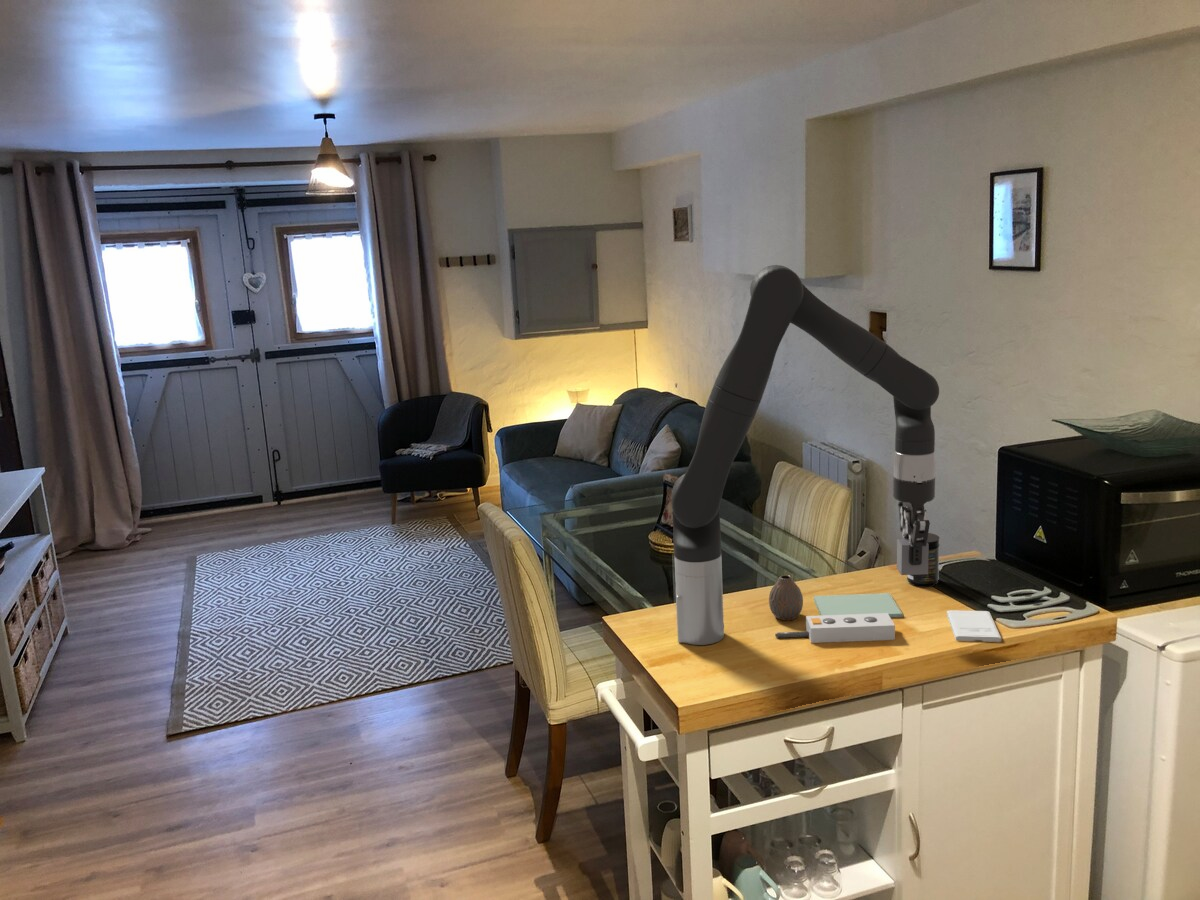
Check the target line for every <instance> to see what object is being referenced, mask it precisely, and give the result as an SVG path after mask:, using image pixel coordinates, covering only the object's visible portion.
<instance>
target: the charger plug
mask: <svg viewBox="0 0 1200 900" xmlns="http://www.w3.org/2000/svg"><path fill="white" fill-rule="evenodd" d="M917 540H920V539H919V538H917ZM928 553H929V544H928V543H927V544H926V546H922V563H921V565H911V564H910V563H909V539H905V538H900V539H899V538H897V539H896V570H897V571H898V573H899V574H900V575H901V576H907V575H921V574H928Z"/></svg>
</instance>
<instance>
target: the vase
mask: <svg viewBox="0 0 1200 900" xmlns="http://www.w3.org/2000/svg"><path fill="white" fill-rule="evenodd" d="M768 605H769V609H770V611H771V613H772V615H773V616H774V617H775V618H776V619H778V620H781V621H792V620H795V619H796V618H797V617H799V615H800V614H801V612H802V610H803V607H804V597H803V593H802V590H801V589H800V587H799V586H798V584H796V582H795V581H794V579H793V576H791V575H788V574H782V575H780V576H779V577H778V579H777V581H776V582H775V583H774V585H773V586H772V587H771V589H770V591H769V596H768Z"/></svg>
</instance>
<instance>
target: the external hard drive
mask: <svg viewBox="0 0 1200 900" xmlns="http://www.w3.org/2000/svg"><path fill="white" fill-rule="evenodd" d="M990 612H991V611H987V610H957V609H956V610H954V609H950V610H947V611H946V616H947V619H948V622H949V625H950V628H951V631H952V633H953V636H954V640H955V641H956V642H976V641H977V642H991V643H993V642H995V643H1001V642H1002V636H1001V635H1000V633H999V632H1000V631H999V630H998V628H997V626H996V623H995V621H994V619H993V617H992V614H991V613H990Z"/></svg>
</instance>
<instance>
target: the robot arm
mask: <svg viewBox="0 0 1200 900" xmlns="http://www.w3.org/2000/svg"><path fill="white" fill-rule="evenodd" d="M749 290H750V293H749V294H750V300H749V303H748V308H747V311H746V315H745V319H744V322H743V326H742V328H741V331H740V333H739V336H738V338H737V340H736V341H735V343H734V345H733V347H732V349H731V350H730V352H729V354H728V355H727V356H726V358H725V360H724V362H723V364H722V366H721V368H720V370H719V372H718V375H717V377H716V378H715V381H714V383H713V386H712V389H711V391H710V394H709V397H708V400H707V401H706V405H705V409H704V412H703V416H702V420H701V423H700V428H699V433H698V438H697V443H696V447H695V450H694V453H693V456H692V459H691V461H690V463H689V465H688V467H687V470H686V471H685V473H683V474H682V475H680V477H678V478H677V479H676V480H675V482H674V484H673V486H672V489H671V500H670V503H671V504H670V505H671V509H672V526H673V529H672V531H673V532H672V533H673V534H672V536H673V541H672V542H673V557H674V559H673V560H674V579H675V606H676V608H675V609H676V626H677V627H676V630H677V643H684V644H689V645H694V646H695V645H697V646H706V645H712V644H716V643H718V642H720V641H721V640H722V639H723V638H724V637H725V623H724V597H723V594H724V593H723V592H724V591H723V569H722V568H723V565H722V560H723V559H722V537H721V535H722V532H721V515H720V514H721V509H720V507H721V506H720V505H721V502H722V497H723V494H724V490H725V486H726V483H727V480H728V476H729V474H730V471H731V467H732V465H733V462H734V461H735V459H736V457H737V455H738V453H739V451H740V449H741V446H742V445H743V444H744V441H745V438H746V436H747V434H748V432H749V430H750V428H751V425H752V424H753V421H754V418H755V416H756V414H757V413H758V412H757V411H758V409H759V407H760V404H761V401H762V399H763V396H764V393H765V390H766V387H767V384H768V382H769V378H770V376H771V371H772V368H773V365H774V361H775V359H776V354H777V351H778V349H779V346H780V344H781V342H782V340H783V338H784V336H785V334H786V332H787V330H788V328H789V327H790V324H792V325H794V326H796V327H797V328H798V329H801V331H804V332H805V333H807V334H808V335H809V336H811V337H813V338H814V339H815V340H816V341H818V343H820V344H821V345H823V346H824V347H825V348H826V349H828V350H829V351H830V352H831V353H832V354H833V355H835V356H836V357H837V358H838V359H840V360H841V361H842V362H844V363H845V364H846V365H848V366H849V367H850V368H851V369H853V370H854V371H857V373H860V375H862V376H864V377H865V378H867V379H868V380H870V381H872V382H874V383H875V384H877V385H878V386H880V387H881V388H883V389H884V390H885V391H886V392H888V393H889V394H890V395H891V396H892V397H893V408H894V418H895V440H894V442H895V443H894V458H893V473H892V474H893V476H892V477H893V479H892V480H893V481H892V484H893V486H892V496H893V498H894V500H896V501H898V503H897V506H898V516H899V517H898V518H899V530H900V532H901V533H902V535H901V536H902V539H909V563H910V564H911V565H921V563H922V546H926V544H927V538H928V533H930V532H929V531H930V524H931V522H930V520H929V519H927V518H928V515H927V514H928V513H927V509H925V506H924V505H925V504H926V503H930V502H931V501H933V500H934V499H935V497H936V496H935V495H936V491H935V490H936V455H935V448H936V447H935V446H936V445H935V444H936V443H935V440H936V439H935V437H936V434H935V433H936V430H935V425H934V423H933V420H932V415H931V414H932V413H931V411H932V406H933V405H934V404H935V403H936V402H937V400H938V399H939V395H940V386H939V383H938V381H937V380H936V378H935V377H934V376H933V375H932V374H931V373H929V372H928V371H926V369H923V368H922V367H919V366H917V365H916V364H914V363H913V362H911V361H910V360H908V359H906V358H905V357H903V356H902V355H900V354H899V352H897V351H896V350H895V349H894V348H893V347H891V346H890V345H889V344H887V342H884V341H883V340H882V339H881V338H879V337H877V336H876V335H874V334H873V333H871V332H870V331H868V330H867V329H865V328H864V327H862V326H860V325H859V324H857V323H856V322H854V321H852V320H851V319H849V318H848V317H846V316H844V315H843V314H841V313H839V312H838V311H837V310H835V309H833V308H832V307H830V305H827V304H826V303H825V302H824V301H822V300H821V299H820V298H818V297H817V296H816V295H815V294H814V293H813V292H812V291H810V289H809V288H807V287H806V286H805V285H804V284H803V282H802V280H801V278H800V277H799V275H798V274H797V273H796V272H794V271H793V270H792V269H791V268H789V267H788V266H787V267H786V266H784V265H780V264H779V265H778V264H772V265H768V266H765V267H764V268H762V269H760V270H758V272H757V273H756V274H755V275H754V276H753V278H752V280H751V283H750V289H749ZM917 538H919V539H920V540H917Z"/></svg>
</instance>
